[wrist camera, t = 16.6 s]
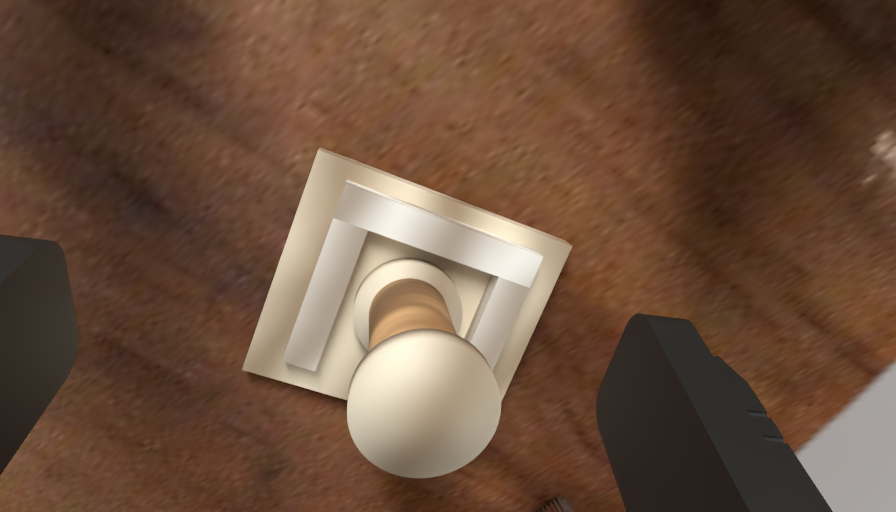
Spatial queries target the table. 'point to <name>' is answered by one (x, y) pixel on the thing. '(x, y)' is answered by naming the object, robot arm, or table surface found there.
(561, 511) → the bolt
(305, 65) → the table surface
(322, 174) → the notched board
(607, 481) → the table surface
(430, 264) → the bobbin
